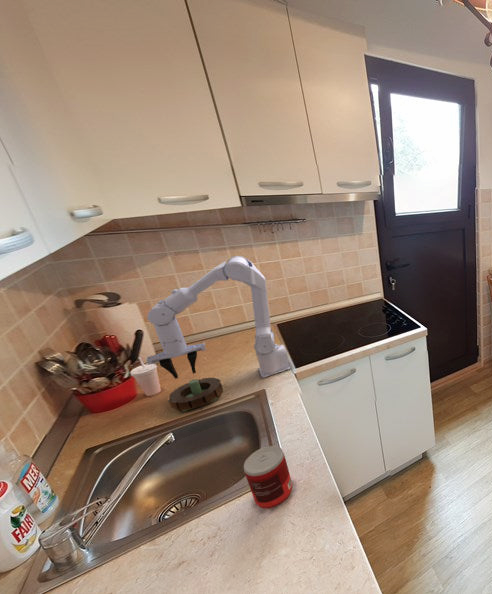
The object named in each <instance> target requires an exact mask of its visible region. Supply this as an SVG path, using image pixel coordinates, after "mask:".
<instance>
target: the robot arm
mask: <svg viewBox="0 0 492 594" xmlns="http://www.w3.org/2000/svg"><path fill="white" fill-rule="evenodd" d="M229 279H230V280H234V281H235V282H236V281H237V282H240V283H243V284H245V285H247V286H249V287H250V292H251V300H252V301H251V302H252V308H253V318H254V326H255V334H254V345H253V349H254V350H255V356H256V359H257V362H258V365H259V367H258V371H259V373H260V374H259V375H260V376H261V378H267V377H270V376H273V375H276V374H279V373H282V372H284V371H288V370H290V369H291V365H290V360H289V356H288V353H287V350H286V346H285V345H284V344H277V343H276V342H275V337H276V335H275V331H273V330H272V326H271V318H270V309H269V300H268V290H267V288H268V287H267V281H266V277H265V276H264V275H263V274H262V273H261V271H259V269H258V268H257V267H256V266H255V264H254V263H253V262H252V260H249V259H248V258H245V257H244V256H241V255H235V256H231V257H230V258H229V259H228V260H225V261H223V262H221V263H219V265H217V266H215V267H214V268H212V269H211V270H209V271H208V272H207V273H206V274H204V275H203V276H202V277H200V278H199V279H198V280H196V281H195V282H194V283H193V284H191V285H190V286H189V287H180V288H178V289H177V288H175V289H173V290H172V291H171V292H170V293H171V294H170V295H169V296H167V297H166V298H165V299H159V301H158V302H157V304H155V305H154V306H152V308H151V309H150V310H149V311H148V313H147V315H146V317H147V321H148V322H149V323H150V324H152V325H153V327H154V329H155V333H156V335H157V338H158V340H159V343H160V345H161V348H162V350H163V352H159V353H157V354H154V355H151V356H147V357H146V360H145V361H146V362H147V363H146V364H148V365H150V364H155V363H159V366H160V367H161V368H163V369H164V370H166V371H167V372H169V373H170V374H171V375H172V377H174V379H175V380H176V379H179V374H178V372H177V370H176V368H175V365H174V363H173V360H172V359H173V358H178V357H182V356H185V355H186V358H187V360H188V362H189V365H190V368H191V372H192V374H196V373H197V371H196V361H197V358H198V352H201V351H202V352H204V351H206V350H207V347H206V343H204V342H203V343H197V344H191V345H190V344H189V345H187V343H186V340H185V337H184V334H183V332H182V329H181V326H180V324H179V322H178V319H177V315H180V314H181V313H183V312H184V311H185V310H186V309H188V308H189V307H191V306H192V305H193V304H195V303H196V302H197V301H198V295H200V294H201V293H202V292H204V291H206V290H207V289H208V288H210V287H211V286H213V285H214V284H216V283H217V282H219V281H222V282H223V281H224V282H225V281H229Z"/></svg>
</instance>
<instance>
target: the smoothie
mask: <svg viewBox="0 0 492 594" xmlns="http://www.w3.org/2000/svg"><path fill="white" fill-rule="evenodd" d="M138 359H139V360H138V361H139V362H140V364H141V365H139V366H136V367H135V368H133V369H132V370H131V371H130V372H129V373H130V377H132V378H134V380H135V381H136V383H137V384H138V385H139V387H140V388H141V390H142V391H143V392H144V394H145V396H146V397H152V396H155V395H157V394H160V392H161V391H162V389H161V384H160V379H159V374H158V371H157V369H158V366H157V364H155V363H153V364H150V365H148V363H146V364H145V363H144V361H143V359H142V357H141V356H139V357H138Z"/></svg>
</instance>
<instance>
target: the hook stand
mask: <svg viewBox="0 0 492 594" xmlns="http://www.w3.org/2000/svg"><path fill="white" fill-rule="evenodd" d="M198 380H199V379H197V378H194V379H191V380H189V381H188V382H187V383H189V386H190V388H191V391H192V394H190V395H188V396H187V397H191V396H195V395H198V394H201V393H202V392H204V391H206V390H207V389H204V390H201V387H200V384H199V382H198ZM216 401H218V397H216V398H215V399H214V400H212V401H210V402H208V403H205V405H208V404H210V403H214V402H216ZM193 409H194V408H193V407H192V408H191V409H185V410H181V412H182V413H183V412H187V411H189V410H193Z"/></svg>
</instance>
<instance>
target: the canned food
mask: <svg viewBox="0 0 492 594" xmlns="http://www.w3.org/2000/svg"><path fill="white" fill-rule="evenodd" d="M243 471H244V474H245V477H246V480H247V484H248V486H249V489H250V492H251V495H252V498H253V500H254V503H255V505H257V507H259V508H261V509H263V510H264V509H265V510H267V509H273V508H276V507H277V506H280V505H281V504H282V503H284V502H285V501H286V500H287V499H288V498H289V497H290V495H291V493H292V490H293V481H292V477H291V474H290V470H289V466H288V463H287V459H286V455H285V453H284V451H283V449H282V448H281V446H278V445H268V446H264V447H262V448H258V449H257V450H256V451H254V452H253V453H251V454H250V455H249V456H248V457H247V458H246V459H245V461H244V464H243Z"/></svg>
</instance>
